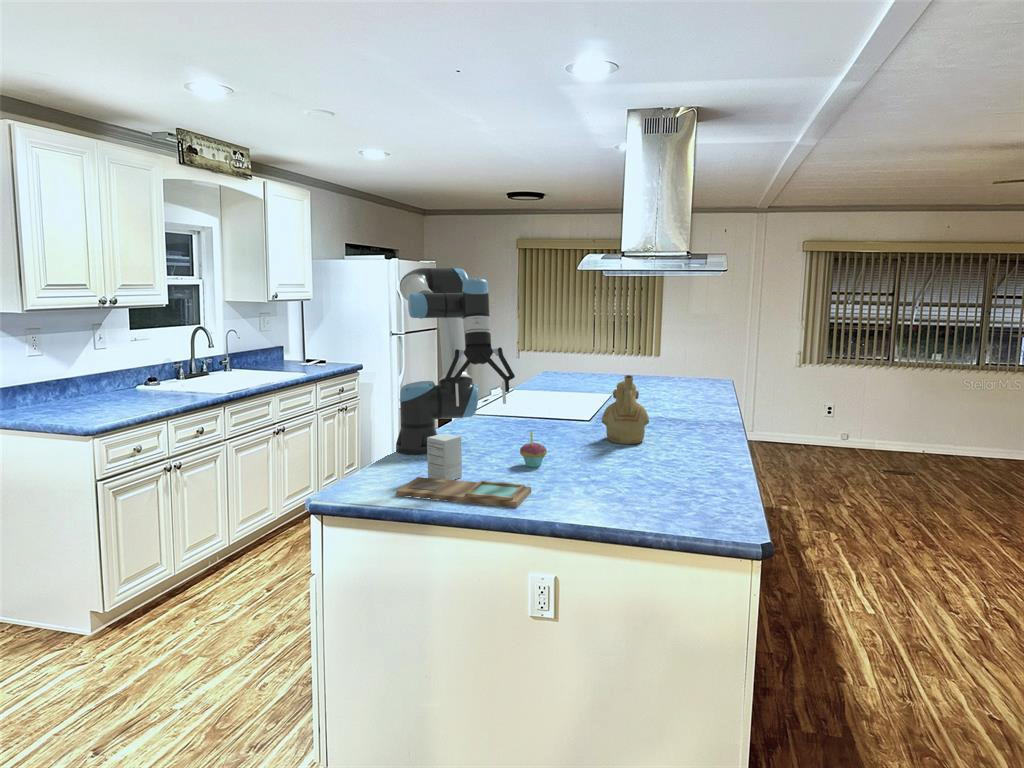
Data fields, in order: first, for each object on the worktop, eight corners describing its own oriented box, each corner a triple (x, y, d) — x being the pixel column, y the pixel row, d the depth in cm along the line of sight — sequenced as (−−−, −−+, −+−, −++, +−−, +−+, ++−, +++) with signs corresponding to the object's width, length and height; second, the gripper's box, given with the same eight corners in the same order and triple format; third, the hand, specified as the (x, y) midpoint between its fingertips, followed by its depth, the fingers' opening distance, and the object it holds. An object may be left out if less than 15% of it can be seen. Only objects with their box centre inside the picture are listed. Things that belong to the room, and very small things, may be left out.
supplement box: (444, 473, 214) (444, 432, 212) (462, 478, 209) (462, 436, 207) (426, 478, 208) (426, 436, 206) (444, 483, 203) (444, 440, 202)
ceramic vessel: (646, 435, 267) (647, 369, 263) (650, 447, 247) (653, 376, 244) (600, 434, 268) (601, 369, 265) (601, 446, 249) (603, 376, 245)
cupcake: (542, 469, 218) (542, 431, 216) (515, 467, 221) (516, 429, 219) (549, 463, 226) (550, 426, 224) (524, 460, 229) (524, 424, 227)
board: (396, 496, 191) (396, 487, 191) (417, 482, 205) (417, 474, 204) (516, 507, 182) (516, 499, 181) (531, 492, 195) (531, 484, 195)
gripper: (434, 332, 202) (437, 406, 201) (521, 328, 204) (525, 402, 203) (435, 335, 209) (438, 407, 208) (519, 332, 211) (522, 403, 210)
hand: (481, 405), depth 206 cm, fingers open, 13 cm apart
